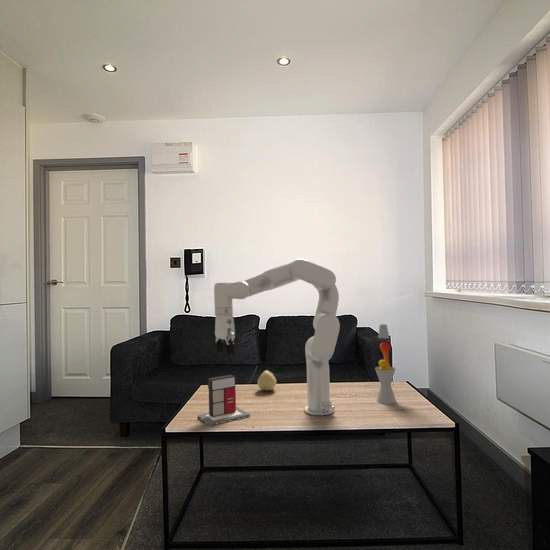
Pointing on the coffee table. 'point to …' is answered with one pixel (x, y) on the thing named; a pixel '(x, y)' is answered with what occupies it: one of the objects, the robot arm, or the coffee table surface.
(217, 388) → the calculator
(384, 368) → the lava lamp
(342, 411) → the coffee table surface
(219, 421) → the slate picture frame
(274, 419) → the coffee table surface
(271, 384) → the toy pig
